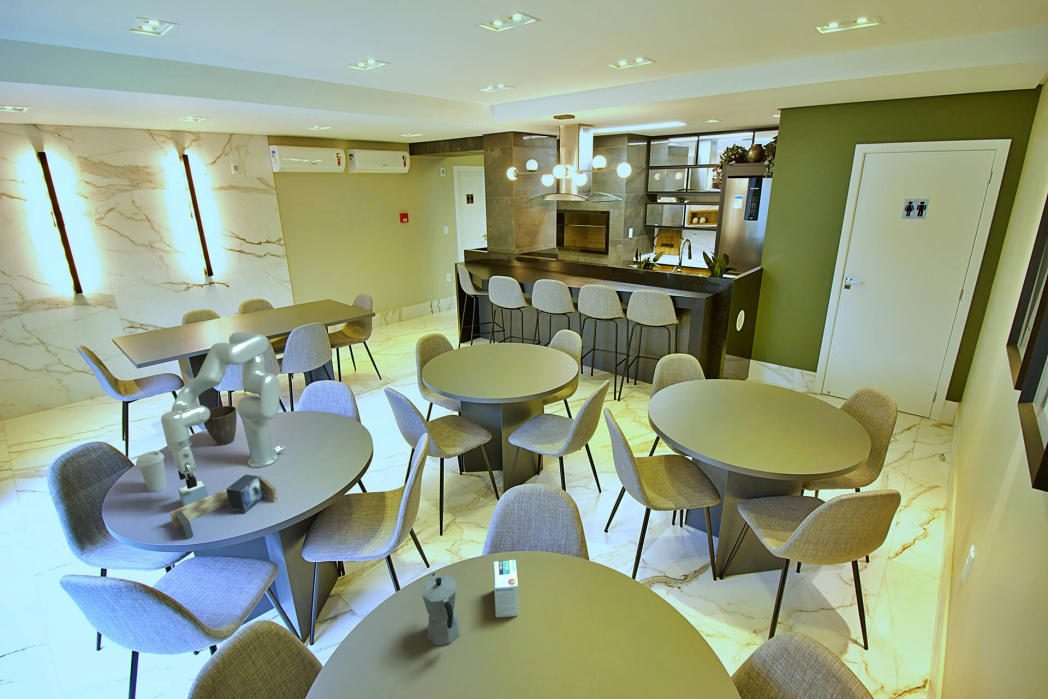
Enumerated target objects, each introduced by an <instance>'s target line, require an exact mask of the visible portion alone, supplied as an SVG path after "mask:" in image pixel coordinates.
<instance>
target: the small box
mask: <svg viewBox="0 0 1048 699" xmlns="http://www.w3.org/2000/svg"><path fill="white" fill-rule="evenodd" d="M258 476H259V475H251V474H244V475H243V476H241V477H240V478H239V479H238V480H236V481H235V482H233V483H232V484H230V485H229V486H228V487H227V488H225V489H226V491H227V495H228V500H229V504H228V505H229V507H230V508H229V509H230V513H237V514H241V515H242V514H246V513H247V512H248V511H250V510H251V509H252V508H253V507H254V506H256V505H257V504H258V503H259V502H261V501H262V500H263V499H264V497H263V493H262V492H263V491H262V490H261V487H260V482H259V477H258Z"/></svg>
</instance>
